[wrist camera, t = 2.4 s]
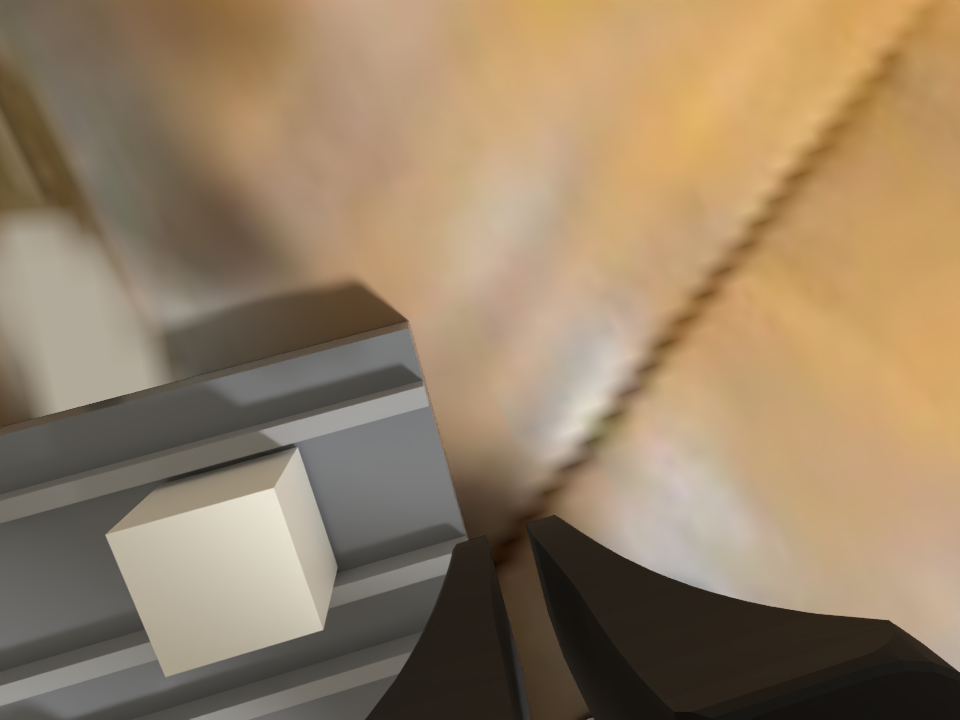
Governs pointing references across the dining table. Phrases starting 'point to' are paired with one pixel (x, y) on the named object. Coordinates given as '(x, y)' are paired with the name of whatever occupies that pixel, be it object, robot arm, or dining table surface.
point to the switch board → (201, 448)
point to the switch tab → (227, 561)
